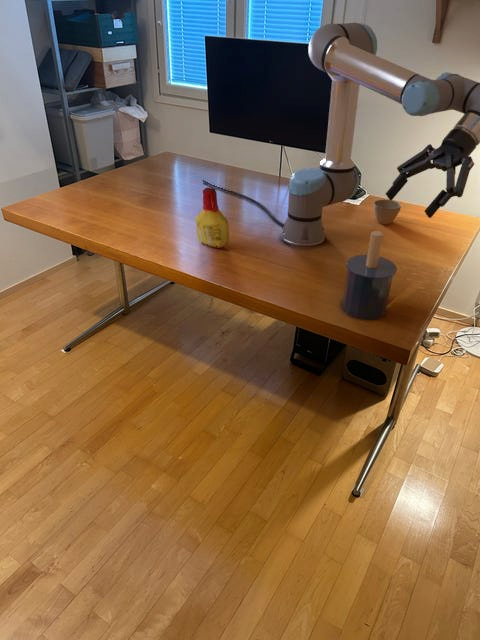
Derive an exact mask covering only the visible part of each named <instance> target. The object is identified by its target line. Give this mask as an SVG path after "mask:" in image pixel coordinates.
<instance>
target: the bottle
mask: <svg viewBox="0 0 480 640" xmlns="http://www.w3.org/2000/svg"><path fill="white" fill-rule="evenodd" d="M195 227H196V235H197V240H198V242H199V243H201V244H203V245H206V246H209V247H211V248H218V249H221V248H224V246H226V245H227V244H228V243H229V237H230V236H229V234H230V228H229V227H230V225H229V221H228V219H227V217H226V216H225V215H224V213H223V212H222V211H221V210H220V209H219V204H218V194H217V190H216V188H215V187H205V188H204V189H203V190H202V210H201V211H200V212H199V213H198V214H197V215H196V218H195ZM200 241H201V242H200ZM202 242H203V243H202ZM205 243H206V244H205ZM207 244H208V245H207ZM211 245H212V246H211ZM216 246H217V247H216Z"/></svg>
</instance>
